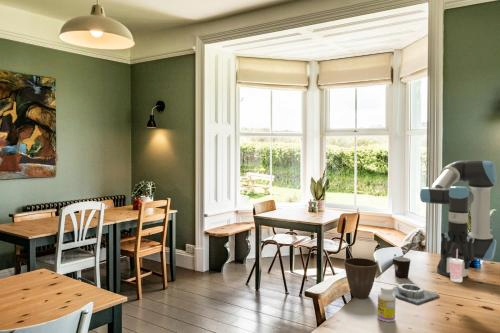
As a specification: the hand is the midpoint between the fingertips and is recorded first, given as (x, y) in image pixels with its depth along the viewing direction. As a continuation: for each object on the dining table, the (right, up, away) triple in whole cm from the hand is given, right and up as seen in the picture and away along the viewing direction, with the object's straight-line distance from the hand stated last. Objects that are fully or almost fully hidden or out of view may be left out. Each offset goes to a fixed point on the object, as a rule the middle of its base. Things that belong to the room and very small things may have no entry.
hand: (456, 273), depth 171 cm
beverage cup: (0, -3, 0) cm, 3 cm away
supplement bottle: (-36, -14, -15) cm, 42 cm away
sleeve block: (-15, -14, +13) cm, 24 cm away
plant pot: (-40, -13, +11) cm, 43 cm away
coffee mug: (-8, -13, +42) cm, 45 cm away
